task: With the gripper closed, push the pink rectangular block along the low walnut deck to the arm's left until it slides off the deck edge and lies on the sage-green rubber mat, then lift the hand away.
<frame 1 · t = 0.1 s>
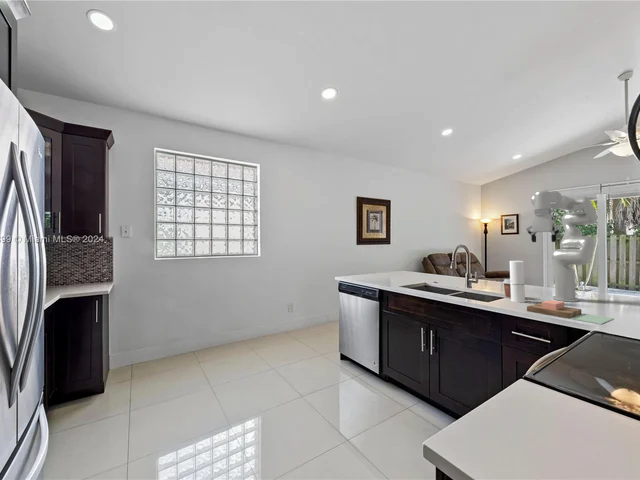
hand: (543, 242, 163), 37 cm above the worktop, tool pointing down, fingers open, 9 cm apart
cylindrical container: (517, 301, 174), on the worktop
pink rectangular block: (553, 304, 147), point 4 cm above the worktop, touching deck
mat: (591, 318, 134), on the worktop
coffee cup: (511, 297, 185), on the worktop
deck: (553, 312, 147), on the worktop
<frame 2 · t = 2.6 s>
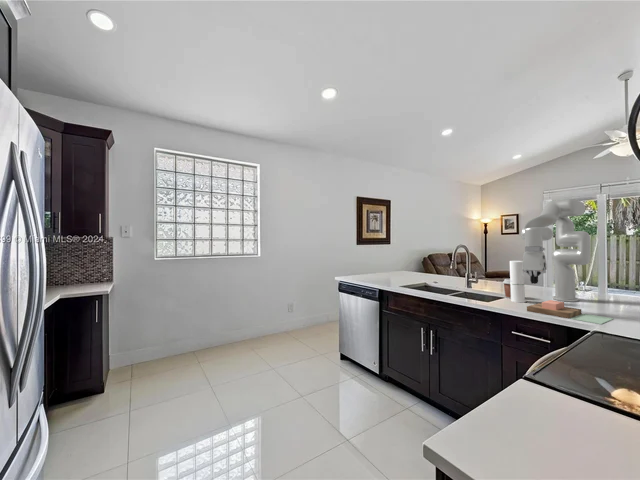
hand: (534, 283, 154), 14 cm above the worktop, tool pointing down, fingers closed
nothing on the worktop moved.
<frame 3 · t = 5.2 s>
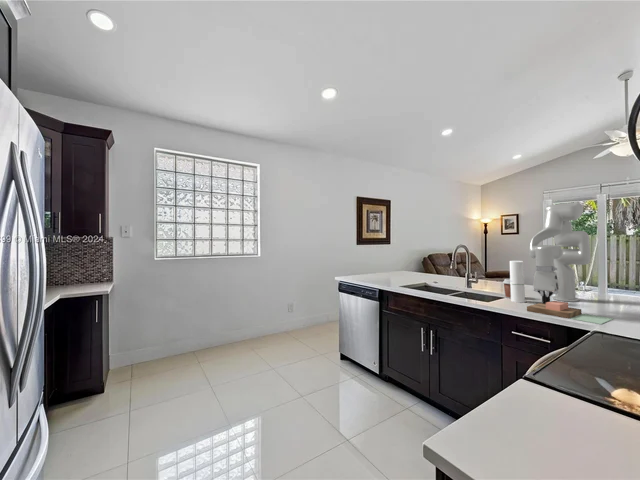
hand: (546, 303, 149), 4 cm above the worktop, tool pointing down, fingers closed
pink rectangular block: (556, 305, 145), point 4 cm above the worktop
everything else where it was.
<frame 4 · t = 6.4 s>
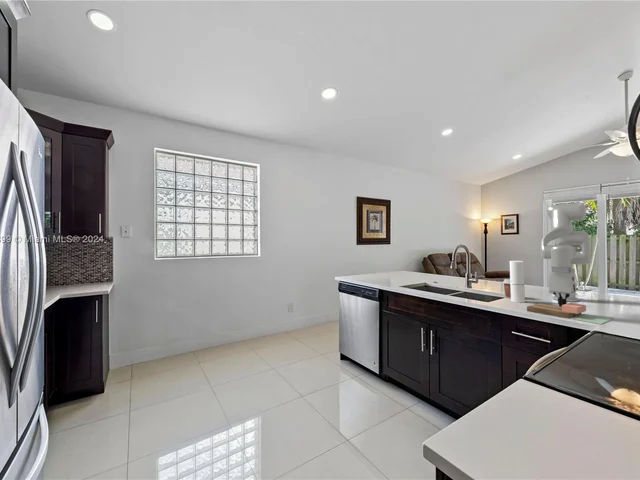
hand: (562, 306, 143), 4 cm above the worktop, tool pointing down, fingers closed
pink rectangular block: (573, 308, 139), point 4 cm above the worktop, touching deck, gripper
everything else where it was.
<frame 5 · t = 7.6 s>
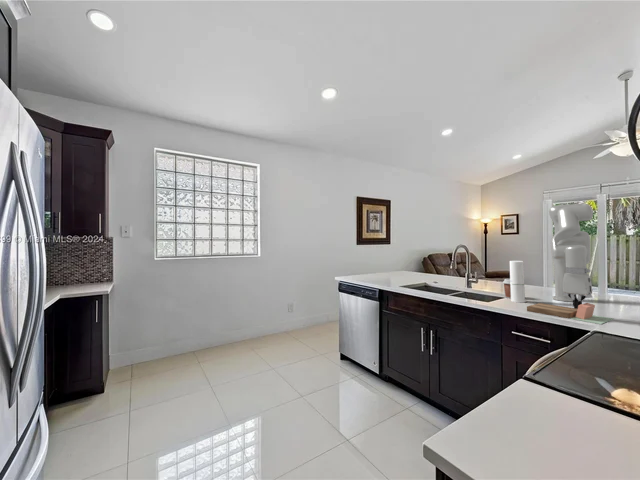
hand: (577, 308, 138), 4 cm above the worktop, tool pointing down, fingers closed
pink rectangular block: (585, 310, 135), point 4 cm above the worktop, tilted 102°, touching mat
everything else where it was.
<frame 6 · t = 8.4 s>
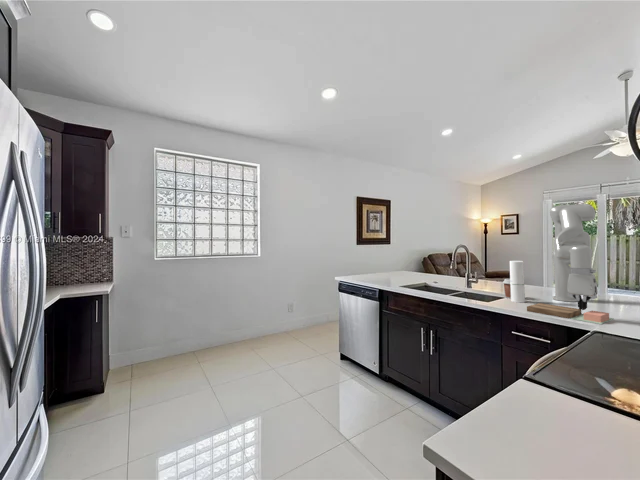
hand: (582, 309, 136), 4 cm above the worktop, tool pointing down, fingers closed
pink rectangular block: (596, 316, 132), point 2 cm above the worktop, tilted 180°, touching mat
everything else where it was.
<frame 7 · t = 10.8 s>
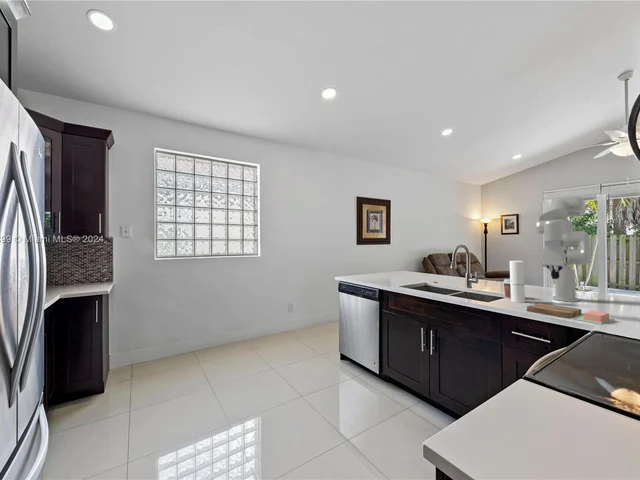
hand: (555, 278, 148), 18 cm above the worktop, tool pointing down, fingers closed
nothing on the worktop moved.
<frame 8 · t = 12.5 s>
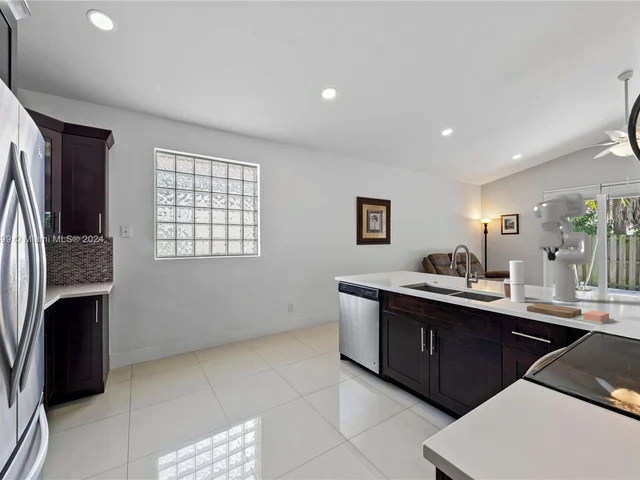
hand: (551, 260, 149), 27 cm above the worktop, tool pointing down, fingers closed
nothing on the worktop moved.
at the end: pink rectangular block point 1.8 cm above the worktop; pink rectangular block inside the target area on the mat (2.1 cm from its centre), point 1.8 cm above the mat's base; pink rectangular block touching mat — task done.
